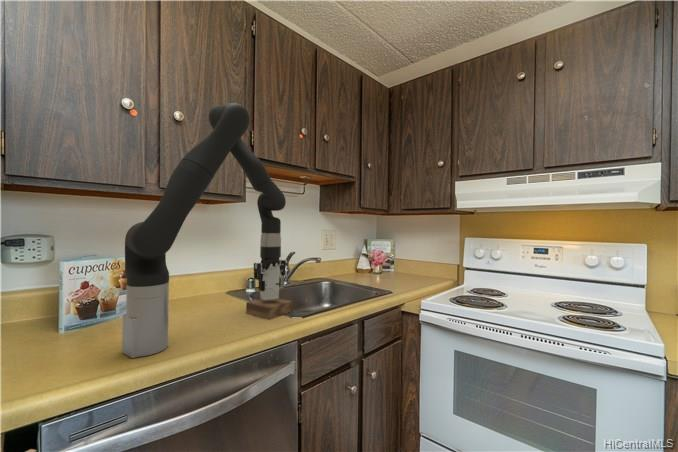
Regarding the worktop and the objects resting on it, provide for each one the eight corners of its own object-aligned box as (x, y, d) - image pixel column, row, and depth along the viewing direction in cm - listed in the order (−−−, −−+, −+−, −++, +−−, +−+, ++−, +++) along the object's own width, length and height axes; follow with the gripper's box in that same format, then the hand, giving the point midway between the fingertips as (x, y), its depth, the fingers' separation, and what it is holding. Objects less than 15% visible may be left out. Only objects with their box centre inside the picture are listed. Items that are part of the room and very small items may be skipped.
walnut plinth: (268, 319, 100) (268, 308, 100) (246, 313, 107) (246, 302, 107) (292, 311, 110) (292, 301, 110) (270, 306, 117) (270, 296, 117)
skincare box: (263, 300, 105) (264, 267, 105) (259, 298, 109) (260, 265, 109) (279, 298, 108) (280, 266, 108) (275, 296, 112) (275, 264, 112)
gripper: (262, 246, 100) (261, 294, 100) (291, 244, 112) (290, 287, 112) (248, 245, 105) (247, 291, 105) (277, 243, 116) (277, 284, 116)
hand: (269, 289), depth 108 cm, fingers closed on skincare box, 7 cm apart
